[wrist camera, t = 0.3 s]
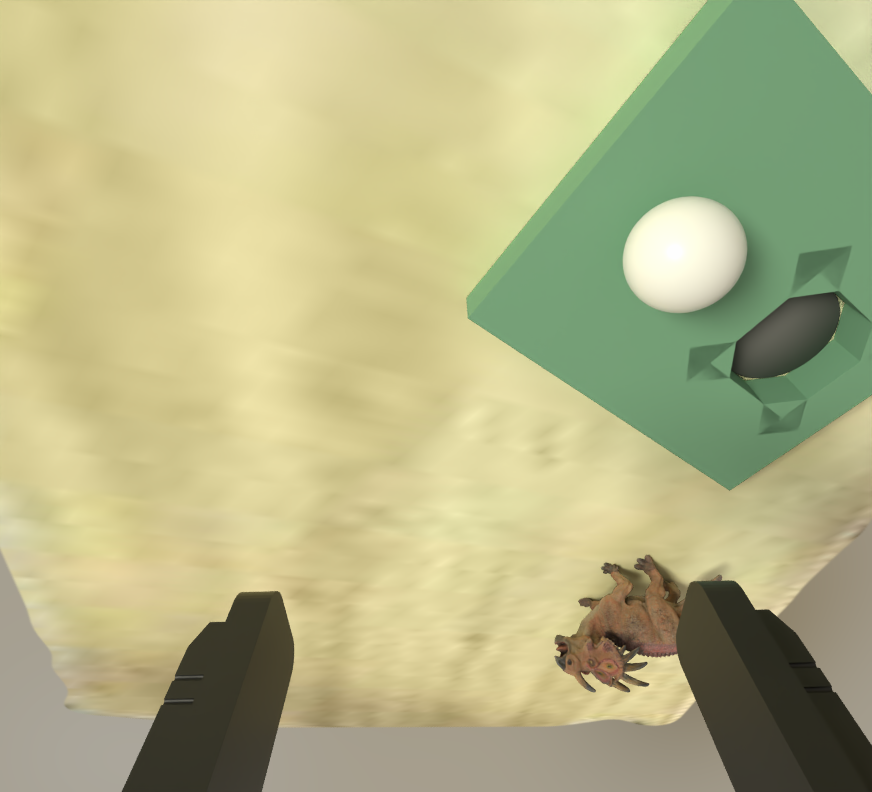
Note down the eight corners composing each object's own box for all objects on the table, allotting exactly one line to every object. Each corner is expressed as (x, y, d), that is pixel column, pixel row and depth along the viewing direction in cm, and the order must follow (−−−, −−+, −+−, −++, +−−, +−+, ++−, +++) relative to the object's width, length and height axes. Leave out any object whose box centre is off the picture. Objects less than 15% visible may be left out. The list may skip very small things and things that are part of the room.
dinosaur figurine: (552, 610, 48) (571, 719, 41) (540, 571, 45) (558, 683, 38) (709, 586, 46) (760, 698, 38) (709, 543, 43) (764, 657, 35)
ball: (669, 159, 24) (716, 189, 20) (740, 225, 25) (796, 265, 21) (588, 248, 26) (615, 292, 22) (658, 303, 28) (694, 353, 24)
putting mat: (734, -32, 22) (763, -37, 20) (990, 268, 29) (1031, 287, 27) (466, 297, 30) (468, 318, 28) (714, 464, 38) (729, 490, 36)
